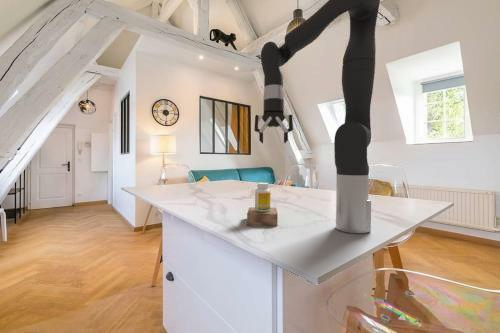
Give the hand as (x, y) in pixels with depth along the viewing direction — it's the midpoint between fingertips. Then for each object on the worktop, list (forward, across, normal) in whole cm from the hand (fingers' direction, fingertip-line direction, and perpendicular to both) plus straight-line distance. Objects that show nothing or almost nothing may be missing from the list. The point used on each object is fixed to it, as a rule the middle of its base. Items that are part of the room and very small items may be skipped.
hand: (273, 143), depth 88 cm
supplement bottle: (+24, +4, +7) cm, 26 cm away
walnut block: (+28, +4, +7) cm, 29 cm away
